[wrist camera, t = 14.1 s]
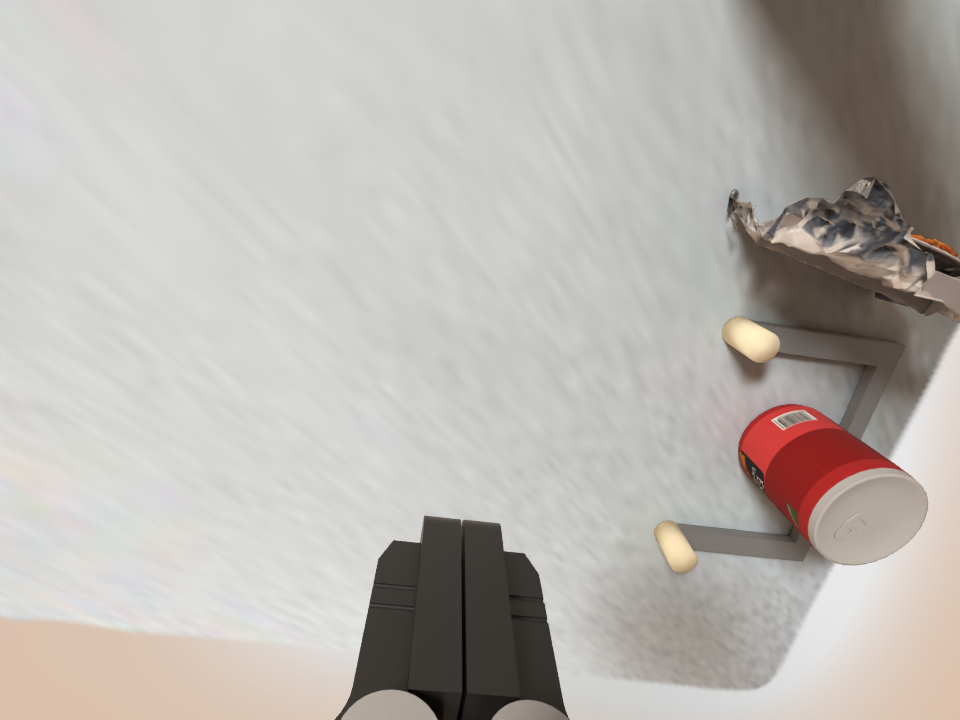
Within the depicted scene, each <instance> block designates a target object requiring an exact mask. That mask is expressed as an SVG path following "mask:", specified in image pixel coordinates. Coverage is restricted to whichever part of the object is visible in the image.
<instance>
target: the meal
mask: <svg viewBox="0 0 960 720" xmlns="http://www.w3.org/2000/svg"><path fill="white" fill-rule="evenodd" d="M755 206H756V205H755ZM755 206H754V207H752V205H751V202H750V203H742V202H739V192H738V190H737V189H734V190H733V191H732V192H731V194H730V197H729V204H728V211H730V210H732V209H734V208H735V213H736V214H737V215H739V216H740V217H741V218H742V219H743V220H744V222H745V229H746V231H747V233H748V234H749V235H750V236H751V237H752V238H753V239H754V241H755V245H757V246H761V247H764V248H766V249H769V250H772V251H775V252H779V253H782V254H784V255H788V256H790V257H791V258H792V259H794V260H795V261H797V262H802V263H805V264H807V265H811V266H813V267H816V268H818V269H820V270H822V271H823V272H825V273H829V274H831V275H834V276H837V277H840V278H842V279H843V280H845V281H847V282H849V283H852V284H855V285H858V286H860V287H862V288H864V289H868V290H871V291H875V297H876V298H879V299H882V300H886V301H889V302H893V303H897V304H901V305H905V306H909V307H911V308H913V309H915V310H916V311H917V312H919V313H920V314H925V316H928V315H931V314H933V313H935V312H938V313H941V314H943V315H946V316H948V317H950V318H953V321H956V322H960V280H959V279H956V278H954V277H957V276H960V259H959V258H957V256H958V254H957V253H955V251H954V250H953V248H951V247H950V246H948V245H946V244H944V243H942V242H939V241H938V240H937V239H935V238H934V239H933V240H931V239H925V238H924V237H922V236H920V235H913V234H912V233H911V232H912V231H913V230H914V228H913V227H911V226H910V225H909V224H907V223H906V222H905V221H903V219H902V214H901V212H900V209H899V206H898V204H897V201H896V199H895V197H894V194H893V192H892V190H891V189H890V188H889V187H888V185H887V184H886V183H885V182H883V181H879V180H878V179H876V178H875V177H869V178H865V179H860V180H858V181H856V182H855V183H854V184H853V185H852V186H851V187H849V188H847V189H846V190H845V191H844V192H843V193H842V194H841V195H840V197H839V198H837V199H836V200H834V201H829V200H826V199H824V198H805V199H803V200H801V201H799V202H797V203H795V204H792V205H790V206H788V207H786V208H785V209H784V211H783V213H782V214H781V215H780V216H779V217H777V218H776V219H775V220H771V221H769V222H764V223H757V221H758V219H757V220H756V219H755V216H754V211H753V210H754V208H755ZM728 211H727V212H728ZM899 213H900V216H899V215H898V214H899ZM895 214H896V215H895ZM729 216H730V215H729ZM730 218H731V216H730ZM731 220H732V222H733V224H734V226H735V228H736V230H737V232H738V229H737V224H736V223H735V221H734V220H733V219H732V218H731Z"/></svg>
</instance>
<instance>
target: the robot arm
mask: <svg viewBox="0 0 960 720" xmlns="http://www.w3.org/2000/svg"><path fill="white" fill-rule="evenodd" d="M335 720H569V718H568V715H567V713H566V711H565V707H564V703H563V698H562V693H561V688H560V682H559V677H558V672H557V667H556V662H555V656H554V651H553V646H552V641H551V636H550V630H549V625H548V623H547V615H546V610H545V604H544V603H543V594H542V589H541V583H540V578H539V574H538V573H537V571H536V570H535V568H534V567H533V565H532V564H531V562H530V561H529V559H528V558H527V557H526V555H525V554H524V553H515V552H505V551H504V550H503V541H502V532H501V526H500V524H499V523H490V522H480V521H471V520H463V522H462V525H461V520H460V519H451V518H441V517H432V516H424V520H423V527H422V533H421V540H420V543H414V542H404V541H395V540H393V542H392V543H391V544H390V545H389V547H388V548H387V549H386V550H385V552H384V553H383V554H382V555H381V557H380V558H379V559H378V564H377V569H376V574H375V579H374V585H373V589H372V594H371V599H370V604H369V609H368V614H367V619H366V624H365V629H364V633H363V638H362V643H361V648H360V653H359V659H358V663H357V668H356V673H355V678H354V683H353V688H352V691H351V695H350V697H349V699H348V701H347V703H346V705H345V707H344V708H343V710H342V711H341V713H340V714H339V715H338V716H337V718H336V719H335Z"/></svg>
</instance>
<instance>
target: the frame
mask: <svg viewBox="0 0 960 720" xmlns="http://www.w3.org/2000/svg"><path fill="white" fill-rule="evenodd" d="M722 337H723V339H724V341H725V342H726V343H728V344H729V345H731V346H732V347H734V348H735V349H737V350H738V351H740V352H741V353H742V354H744V355H745V356H747V357H748V358H750V359H751V360H753V361H755V362H758V363H762V362H767V361H769V360H771V359H772V358H773V357H774V356H775V355H776V354H777V352H781V353H788V354H795V355H802V356H809V357H816V358H822V359H829V360H836V361H843V362H850V363H857V364H864V365H867V366H866V368H865V370H864V372H863V375H862V377H861V379H860V381H859V384H858V386H857V388H856V390H855V392H854V395H853V397H852V399H851V401H850V403H849V406H848V408H847V410H846V412H845V414H844V417H843V419H842V421H841V423H840V426H841V427H842V428H844V429H845V430H846V431H848V432H849V433H851V434H852V435H854V436H855V437H857V438H858V439H859V440H861V438H862V435H863V433H864V431H865V429H866V427H867V425H868V423H869V421H870V419H871V416H872V414H873V412H874V410H875V408H876V406H877V404H878V402H879V400H880V397H881V395H882V393H883V391H884V389H885V387H886V385H887V383H888V381H889V378H890V376H891V374H892V372H893V370H894V368H895V366H896V364H897V362H898V359H899V357H900V355H901V353H902V351H903V349H904V347H905V346H904V345H901V344H899V343H896V342H892V341H885V340H879V339H872V338H865V337H859V336H852V335H845V334H838V333H832V332H825V331H818V330H812V329H805V328H798V327H792V326H785V325H778V324H771V323H765V322H758V321H751V320H749V319H747V318H745V317H741V316H738V317H734V318H731V319H730V320H728V321H727V322H726V323H725V325H724V327H723V329H722ZM654 536H655V538H656V540H657V542H658V544H659V545H660V547H661V549H662V551H663V553H664V555H665V557H666V559H667V561H668V563H669V565H670V567H671V568H672V570H674V571H675V572H678V573H685V572H688V571H690V570H692V569H693V568H694V567H695V566H696V564H697V561H698V560H697V556H696V554H695V553H694V551H693V550H699V551H709V552H718V553H728V554H737V555H746V556H756V557H765V558H775V559H784V560H794V561H803V560H804V558H805V556H806V554H807V552H808V549H809V547H810V545H811V544H810V543H809V542H808V541H807V540H806V539H805V538H804V537H803V536H802V535H801V533H800V532H799V531H798V530H797V529H796V528H795V527H793V529H792V532H791V534H790V536H786V535H777V534H768V533H759V532H750V531H741V530H732V529H723V528H714V527H705V526H696V525H686V524H677V523H675V522H673V521H664V522H662V523H660V524H658V525H657V526H656V528H655V530H654Z"/></svg>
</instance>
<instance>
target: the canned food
mask: <svg viewBox="0 0 960 720" xmlns="http://www.w3.org/2000/svg"><path fill="white" fill-rule="evenodd" d="M738 452H739V458H740V461H741V464H742V467H743V469H744V471H745V472H746V473H747V475H748V476H749V477H750V478H751V479H752V480H753V481H754V483H755V484H756V485H757V486H758V487H759V488H760V489H761V490H762V491H763V492H764V494H765V495H766V496H767V497H768V498H769V499H770V500H771V501H772V502H773V504H774V505H775V506H776V507H777V508H778V509H779V510H780V511H781V512H782V514H783V515H784V516H785V517H786V518H787V519H788V520H789V521H790V522H791V524H792V525H793V526H794V527H795V528H796V529H797V530H798V531H799V532H800V533H801V535H802V536H803V537H804V538H805V539H806V540H807V541H808V542H809V543H810V544H811V545H812V546H813V547H814V548H815V549H816V550H817V551H818V552H819V553H820V554H822V555H823V556H824V557H825V558H826V559H828V560H830V561H832V562H834V563H838V564H842V565H861V564H867V563H871V562H875V561H877V560H880V559H883V558H885V557H887V556H889V555H890V554H893V553H894V552H896V551H897V550H899V549H900V548H902V547H903V546H904V545H906V544H907V543H908V542H909V541H910V540H911V539H912V538H913V536H914V535H915V534H916V533H917V532H918V530H919V529H920V527H921V526H922V524H923V522H924V520H925V517H926V514H927V510H928V499H927V494H926V492H925V491H924V489H923V487H922V486H921V485H920V484H919V483H918V482H917V481H916V480H915V479H914V478H913V477H912V476H911V475H909V474H908V473H906V472H905V471H903V470H902V469H901V468H900V467H898V466H897V465H895V464H894V463H893V462H891V461H890V460H888V459H887V458H885V457H884V456H883V455H881V454H880V453H878V452H877V451H875V450H874V449H872V448H871V447H870V446H868V445H867V444H865V443H864V442H862V441H861V440H859V439H858V438H857V437H855V436H854V435H852V434H851V433H849V432H848V431H846V430H845V429H844V428H842V427H841V426H839V425H838V424H836V423H835V422H833V421H832V420H831V419H829V418H828V417H826V416H825V415H823V414H822V413H820V412H819V411H817V410H815V409H813V408H810V407H806V406H802V405H796V404H787V405H781V406H777V407H774V408H771V409H769V410H767V411H765V412H764V413H762V414H760V415H759V416H758V417H756V418H755V419H754V420H753V421H752V422H751V423H750V424H749V425H748V427H747V428H746V429H745V431H744V433H743V434H742V436H741V439H740V442H739V448H738Z"/></svg>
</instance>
